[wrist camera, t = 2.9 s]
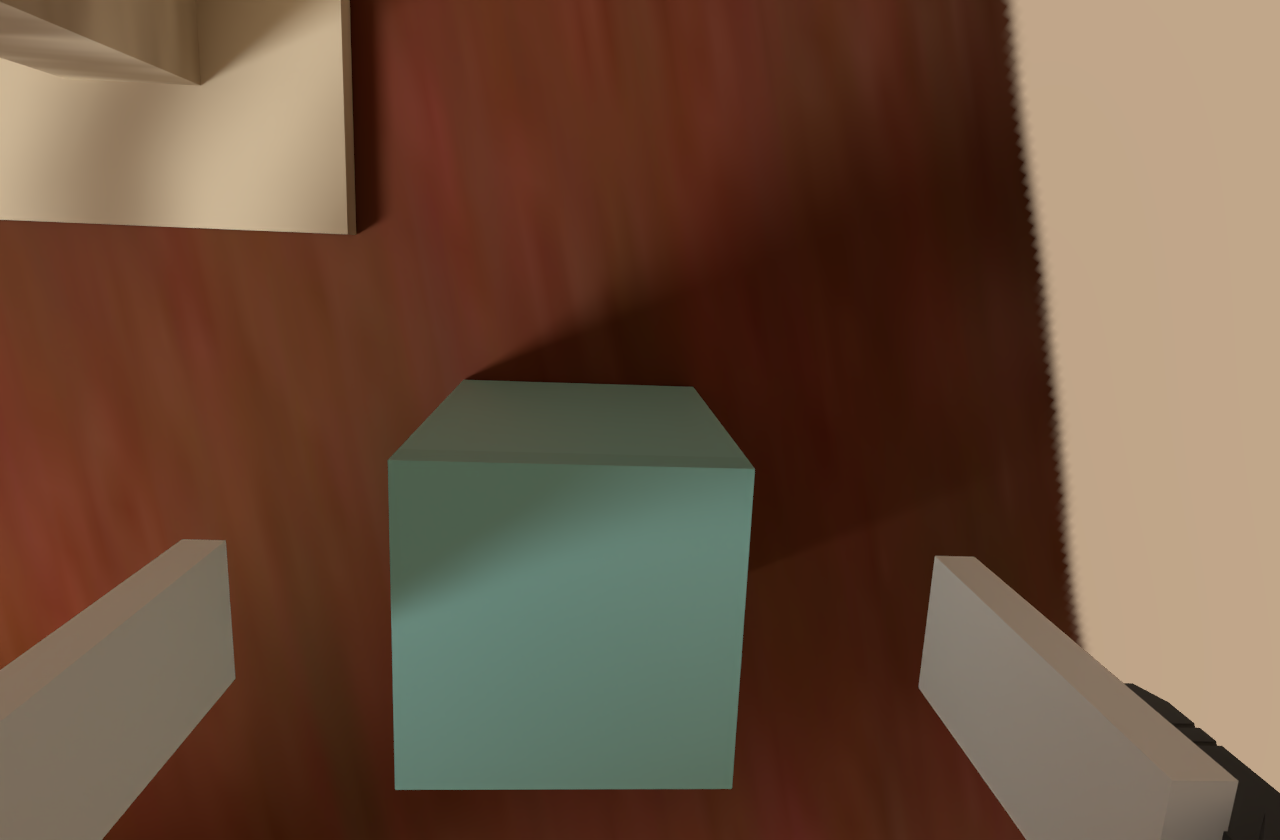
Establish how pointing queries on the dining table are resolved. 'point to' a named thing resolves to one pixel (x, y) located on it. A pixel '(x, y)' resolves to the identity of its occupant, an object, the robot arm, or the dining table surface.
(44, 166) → the beige t-shaped piece
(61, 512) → the dining table surface
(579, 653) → the matte teal cube
